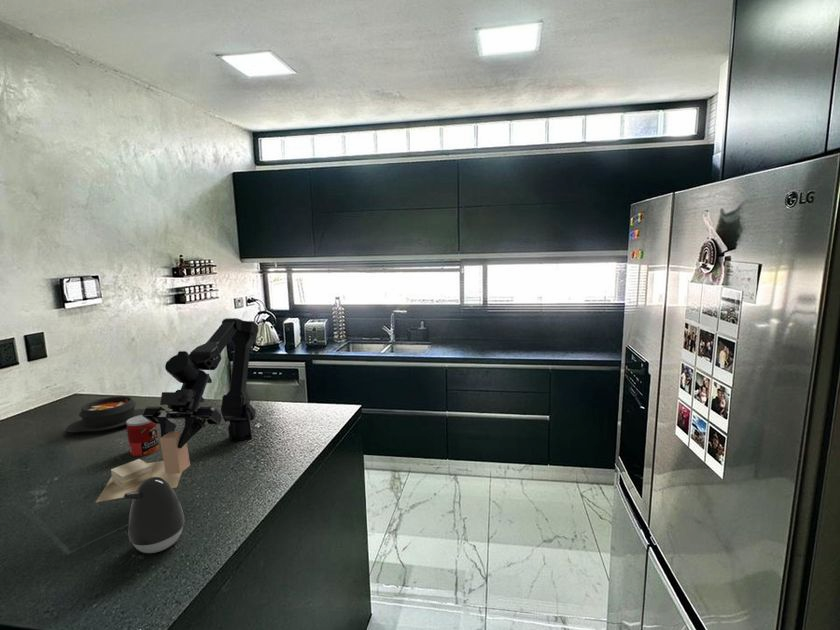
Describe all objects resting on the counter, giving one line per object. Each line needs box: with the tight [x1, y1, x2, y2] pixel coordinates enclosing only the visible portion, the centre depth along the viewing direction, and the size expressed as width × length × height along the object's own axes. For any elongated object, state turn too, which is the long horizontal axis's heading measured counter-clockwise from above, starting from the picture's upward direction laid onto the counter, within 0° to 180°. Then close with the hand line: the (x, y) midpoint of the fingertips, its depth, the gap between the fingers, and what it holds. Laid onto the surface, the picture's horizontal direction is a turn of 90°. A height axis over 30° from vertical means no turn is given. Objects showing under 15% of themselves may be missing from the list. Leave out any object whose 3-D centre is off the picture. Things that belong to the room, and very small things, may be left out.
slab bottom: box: [111, 472, 152, 489], centre depth 119 cm, size 7×7×2 cm
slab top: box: [110, 458, 152, 483], centre depth 119 cm, size 7×7×2 cm
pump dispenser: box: [123, 477, 185, 554], centre depth 92 cm, size 10×10×15 cm
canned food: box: [125, 415, 160, 457], centre depth 135 cm, size 8×8×11 cm
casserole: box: [65, 395, 145, 434], centre depth 158 cm, size 25×19×8 cm
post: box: [159, 430, 191, 474], centre depth 111 cm, size 4×4×10 cm
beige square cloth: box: [95, 460, 183, 503], centre depth 120 cm, size 18×18×1 cm
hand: (170, 447), depth 110 cm, fingers closed on post, 4 cm apart
